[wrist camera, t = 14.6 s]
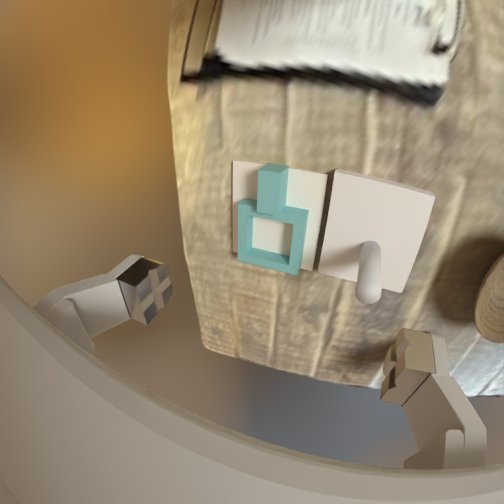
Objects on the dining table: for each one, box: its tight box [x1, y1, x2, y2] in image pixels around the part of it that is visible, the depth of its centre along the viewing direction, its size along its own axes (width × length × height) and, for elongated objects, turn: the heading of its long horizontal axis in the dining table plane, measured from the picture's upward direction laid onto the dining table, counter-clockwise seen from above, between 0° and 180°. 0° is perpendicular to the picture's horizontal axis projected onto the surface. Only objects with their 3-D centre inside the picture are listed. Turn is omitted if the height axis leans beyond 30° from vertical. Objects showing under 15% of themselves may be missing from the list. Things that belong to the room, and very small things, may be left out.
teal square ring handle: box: [238, 163, 309, 275], centre depth 40 cm, size 16×10×4 cm, turn 177°
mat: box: [233, 160, 328, 271], centre depth 42 cm, size 16×14×1 cm
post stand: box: [317, 169, 435, 304], centre depth 33 cm, size 16×14×12 cm
